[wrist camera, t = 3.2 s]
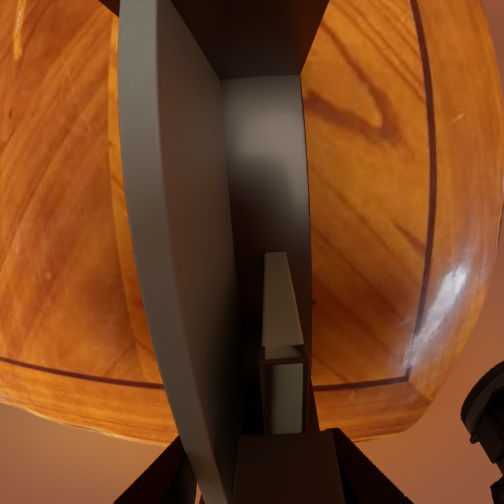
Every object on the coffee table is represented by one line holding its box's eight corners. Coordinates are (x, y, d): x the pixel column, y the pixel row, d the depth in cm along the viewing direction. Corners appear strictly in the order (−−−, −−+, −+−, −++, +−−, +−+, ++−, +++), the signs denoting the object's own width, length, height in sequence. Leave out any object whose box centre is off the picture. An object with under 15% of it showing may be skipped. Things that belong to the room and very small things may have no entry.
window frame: (295, 61, 14) (337, -84, 3) (307, 378, 18) (330, 536, 8) (195, 69, 14) (90, -49, 3) (227, 381, 19) (200, 538, 8)
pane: (300, 250, 15) (369, 455, 4) (302, 374, 17) (325, 568, 6) (249, 252, 15) (209, 464, 4) (259, 377, 17) (248, 572, 6)
